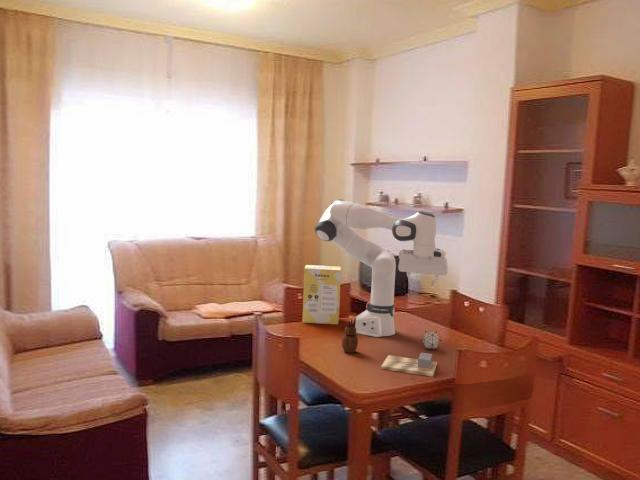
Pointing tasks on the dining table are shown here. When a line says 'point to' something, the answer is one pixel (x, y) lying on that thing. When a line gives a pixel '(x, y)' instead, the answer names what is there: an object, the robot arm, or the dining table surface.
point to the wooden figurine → (350, 338)
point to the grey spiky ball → (431, 340)
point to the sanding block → (425, 361)
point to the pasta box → (321, 294)
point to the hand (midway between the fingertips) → (421, 283)
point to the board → (407, 365)
